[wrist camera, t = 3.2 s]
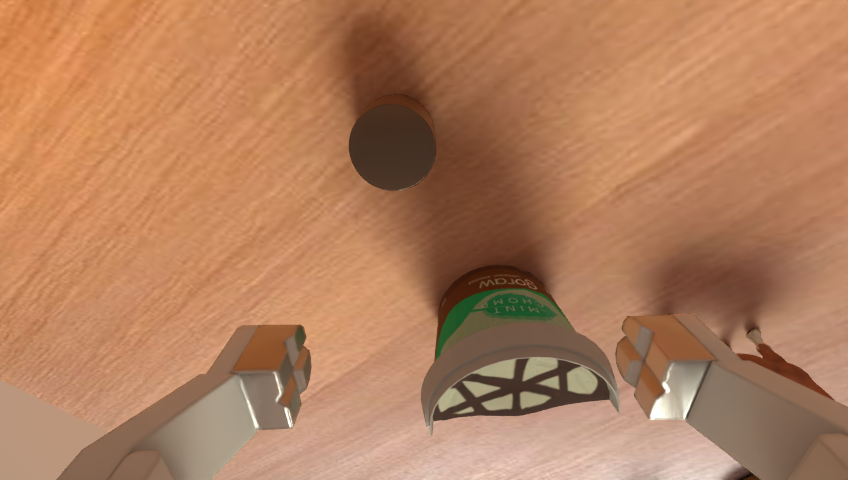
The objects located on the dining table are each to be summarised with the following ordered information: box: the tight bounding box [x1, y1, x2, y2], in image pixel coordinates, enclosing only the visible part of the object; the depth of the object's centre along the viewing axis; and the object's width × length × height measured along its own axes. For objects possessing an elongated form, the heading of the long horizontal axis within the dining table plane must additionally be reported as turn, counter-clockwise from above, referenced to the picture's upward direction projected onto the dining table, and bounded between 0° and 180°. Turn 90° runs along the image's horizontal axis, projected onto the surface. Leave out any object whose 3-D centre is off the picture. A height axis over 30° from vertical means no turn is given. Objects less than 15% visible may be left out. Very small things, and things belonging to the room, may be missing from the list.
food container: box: [421, 265, 620, 436], centre depth 25 cm, size 12×6×10 cm, turn 100°
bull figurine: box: [729, 329, 835, 401], centre depth 29 cm, size 4×13×8 cm, turn 76°
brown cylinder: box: [349, 94, 436, 191], centre depth 22 cm, size 5×5×4 cm
